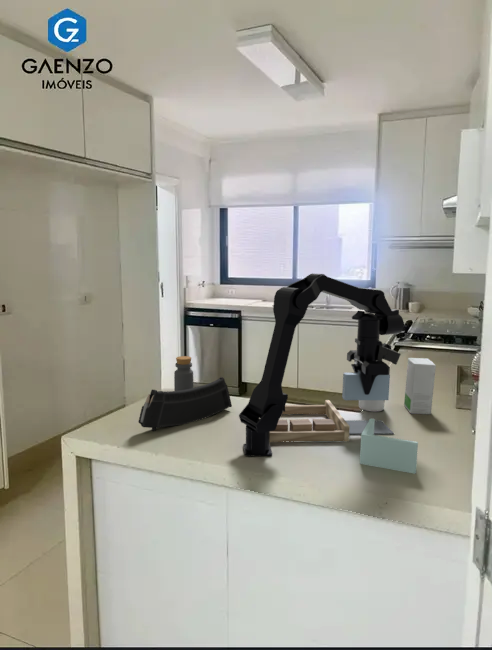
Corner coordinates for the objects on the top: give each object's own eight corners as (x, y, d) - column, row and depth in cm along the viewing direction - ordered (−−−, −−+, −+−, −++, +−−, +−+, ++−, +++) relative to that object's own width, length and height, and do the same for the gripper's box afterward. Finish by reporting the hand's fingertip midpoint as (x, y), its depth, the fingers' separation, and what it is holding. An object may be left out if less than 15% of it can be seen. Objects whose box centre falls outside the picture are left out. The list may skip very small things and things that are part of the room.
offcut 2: (311, 439, 124) (312, 424, 123) (292, 439, 123) (293, 424, 123) (307, 433, 128) (308, 418, 127) (289, 434, 127) (289, 419, 126)
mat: (393, 434, 127) (393, 432, 127) (345, 434, 127) (345, 433, 126) (381, 421, 137) (381, 420, 137) (336, 421, 136) (336, 420, 136)
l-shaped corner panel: (415, 476, 104) (417, 443, 103) (359, 466, 109) (361, 434, 108) (419, 455, 115) (421, 425, 114) (368, 447, 120) (370, 418, 119)
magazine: (231, 378, 148) (150, 364, 127) (238, 380, 146) (157, 366, 125) (218, 433, 147) (135, 428, 126) (225, 436, 145) (142, 431, 124)
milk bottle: (383, 413, 144) (386, 348, 141) (356, 410, 147) (359, 346, 144) (385, 406, 151) (388, 343, 149) (360, 403, 154) (363, 341, 151)
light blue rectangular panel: (388, 400, 130) (389, 374, 129) (344, 400, 129) (345, 374, 128) (385, 397, 132) (386, 372, 131) (342, 397, 132) (343, 372, 131)
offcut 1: (287, 439, 123) (288, 424, 122) (268, 439, 123) (268, 424, 122) (286, 434, 127) (286, 419, 126) (267, 433, 127) (267, 419, 126)
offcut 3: (334, 439, 124) (335, 424, 123) (315, 439, 124) (315, 424, 123) (330, 433, 128) (331, 418, 127) (312, 433, 128) (312, 419, 127)
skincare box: (403, 405, 152) (406, 357, 150) (425, 406, 152) (428, 357, 150) (410, 414, 144) (413, 363, 142) (433, 414, 144) (436, 363, 141)
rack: (348, 441, 122) (349, 426, 121) (256, 442, 121) (257, 427, 120) (328, 413, 144) (329, 400, 144) (250, 413, 143) (250, 400, 142)
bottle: (188, 408, 147) (188, 360, 145) (171, 406, 149) (170, 358, 147) (196, 402, 152) (196, 356, 150) (179, 401, 154) (179, 355, 152)
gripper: (411, 342, 120) (407, 403, 122) (385, 331, 138) (382, 384, 140) (367, 342, 119) (364, 403, 121) (347, 330, 137) (345, 384, 140)
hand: (365, 393), depth 130 cm, fingers closed on light blue rectangular panel, 2 cm apart
